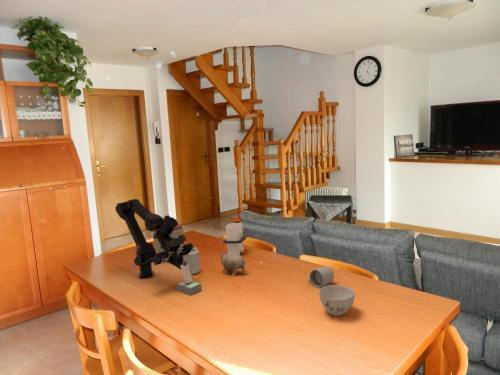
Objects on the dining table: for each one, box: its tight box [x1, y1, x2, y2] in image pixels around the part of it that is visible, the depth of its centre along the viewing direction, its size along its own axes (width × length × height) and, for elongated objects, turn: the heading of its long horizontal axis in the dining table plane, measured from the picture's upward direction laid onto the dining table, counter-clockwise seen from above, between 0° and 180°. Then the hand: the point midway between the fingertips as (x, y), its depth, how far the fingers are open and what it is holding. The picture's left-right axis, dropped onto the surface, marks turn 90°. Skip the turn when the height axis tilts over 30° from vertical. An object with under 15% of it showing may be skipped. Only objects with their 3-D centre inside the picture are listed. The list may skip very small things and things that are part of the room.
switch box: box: [176, 280, 203, 296], centre depth 166 cm, size 9×6×3 cm, turn 49°
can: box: [183, 246, 201, 275], centre depth 187 cm, size 8×8×12 cm
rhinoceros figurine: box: [219, 251, 248, 277], centre depth 183 cm, size 8×14×15 cm
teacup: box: [318, 284, 356, 317], centre depth 140 cm, size 15×12×8 cm
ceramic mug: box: [307, 266, 335, 289], centre depth 165 cm, size 11×8×8 cm
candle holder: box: [222, 222, 247, 256], centre depth 212 cm, size 25×24×16 cm
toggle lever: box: [180, 260, 194, 284], centre depth 165 cm, size 3×3×10 cm
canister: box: [150, 223, 185, 262], centre depth 211 cm, size 18×18×21 cm
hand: (183, 269), depth 166 cm, fingers closed, pressing on toggle lever
